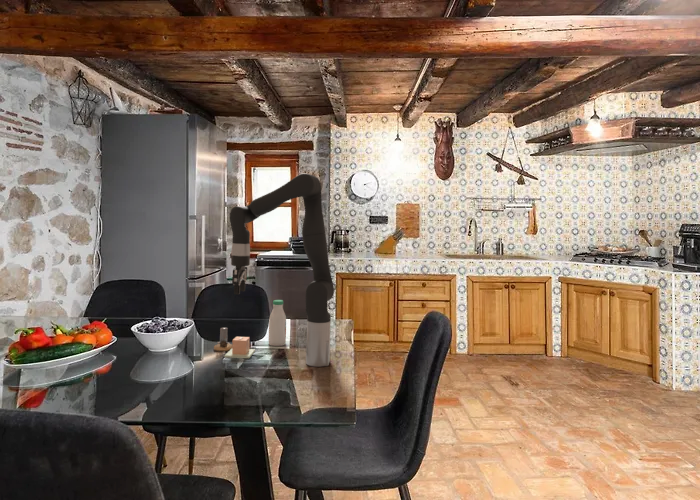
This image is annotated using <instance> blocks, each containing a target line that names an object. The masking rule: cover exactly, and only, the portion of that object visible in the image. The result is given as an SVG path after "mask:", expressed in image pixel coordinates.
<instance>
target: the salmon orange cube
mask: <svg viewBox="0 0 700 500" xmlns="http://www.w3.org/2000/svg"><path fill="white" fill-rule="evenodd" d="M231 344H232V354H242V355H246V354H247V353H248V352H249V349H250V344H251V343H250V336H235V337H234V338H233V339H232V343H231Z"/></svg>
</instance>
